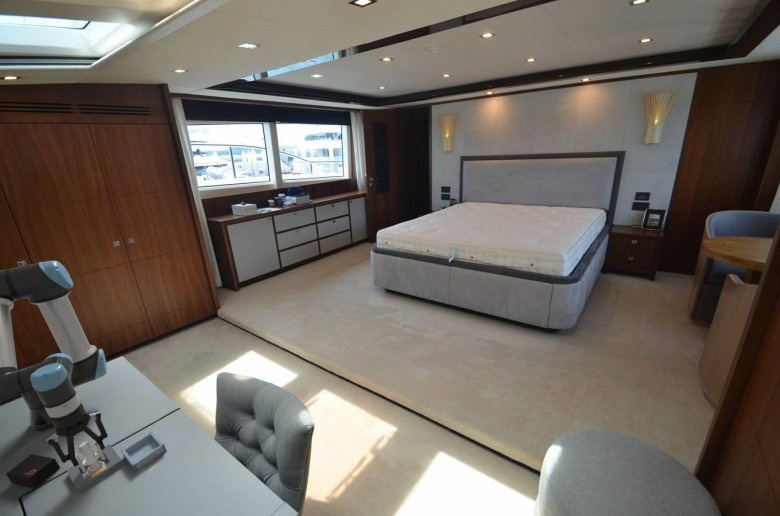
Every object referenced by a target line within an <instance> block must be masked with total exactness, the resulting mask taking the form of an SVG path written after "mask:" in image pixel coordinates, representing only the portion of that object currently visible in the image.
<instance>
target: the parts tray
mask: <svg viewBox="0 0 780 516" xmlns="http://www.w3.org/2000/svg"><path fill="white" fill-rule="evenodd" d="M166 452H167V448H166V445H165V443H163V441H162V440H161V439H159V437H158V436H157V435H156V434H155V433H154V431H150V432H148V433H147V434H145V435H144V436H142V437H141V438H139V439H137V440H136V441H134V442H132V443H131V444H129V445H127V446H126V447H125V448H123V449H121V453H122V456H123V457H124V459H125V460H126V461H127V463H128V464H129V465H130V467H131V468H132V469H133V470H134V472H135V473H137V472H138V471H139V469H140V468H141V469H143V468H144V467H146V464H147V465H148V464H149V462H150V463H151V462H152V461H154V460H155V459H157V458H158V457H160V456H161V455H162V454H164V453H166ZM143 466H144V467H143ZM141 469H140V470H141ZM136 471H137V472H136Z"/></svg>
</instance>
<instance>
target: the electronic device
mask: <svg viewBox="0 0 780 516" xmlns="http://www.w3.org/2000/svg"><path fill="white" fill-rule="evenodd" d="M60 469H61V466H60V465H59V463H58V461H57V459H56V458H54V457H50V456H49V457H48V456H44V455H38V454H34V453H32V454H30V455H28V456H27V457H25V458H24V459H23V460H22V461H21V462H18V464H17V465H15V466H13V467H12V468H11V469H10V470H8V471H7V472H6V473H5V476H7V478H8V480H9V482H10V483H11V484H13V485H17V486H21V487H26V488H31V489H35V490H36V489H38V488H39V487H40V486H42V484H44V483H45V482H46V479H48V478H49V477H52V476H53V475H55V474H56V473H57V472H58V471H59V470H60Z"/></svg>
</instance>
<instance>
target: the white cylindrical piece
mask: <svg viewBox="0 0 780 516" xmlns="http://www.w3.org/2000/svg"><path fill="white" fill-rule="evenodd" d="M78 450H79V452H80V454H81V455H82V456H83V458H84V459H83V460H84V461H83V460H82V461H83V462H82V463H83V465H84V466H87V465H89V467H88V468H87V470H86V473H85V475H86V477H88V476H90V475H91V474H93V473H94V472H96V471H97V470H99V469H100V468H102V467H104V466H105V465H107V462H106V461H101V460H99V461H97V460H98V459H99V457H100V454H99V453H96V452H95V451H94V449H93V448H92V445H91V444H90V442H89V441H84V442H81V444H79V446H78Z"/></svg>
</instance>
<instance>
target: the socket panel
mask: <svg viewBox="0 0 780 516" xmlns="http://www.w3.org/2000/svg"><path fill="white" fill-rule="evenodd" d="M104 446H105V445H104ZM102 452H103V454H104V456H105V458H106V459H107V461H108V463H106V465H105V466H104V467H102V468H100V469H99V470H97V471H96V472H94V473H93V474H91V475H90V476H86V477H84V475H83V474H82V472H83V471H82V469H81V467H80V465H77V466H76V467H75V466H74V465H73V466H71V467H70V468H68V469H67V470H66V472H67V474H68V476H69V477H70V480H71V481H72V483H73V485H74V487H75V488H76V490H77V492H78V494H81V493H83V492H84V491H85V490H87V489H88V488H90V487H92V486H93V485H94V484H96V483H98V482H99V481H100V480H102V479H104V478H105V477H106V476H108V475H110V474H111V473H113V472H114V471H115V470H118V469H119V468H121V467H122V466H123V465H124V462H123V459H121V457H120V455H119V454H118V453H117V452H116V451H115V449H114V448H113V447H112V446H111V444H107V445H106V446H105V449H103V450H102ZM95 453H98V451H95ZM101 460H102V458H101V457H99V459H98V460H97V461H101ZM81 461H82V462H83V461H84V459H83V460H81ZM84 467H85V469H86V470H88V467H89V465H87V466H84Z"/></svg>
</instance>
